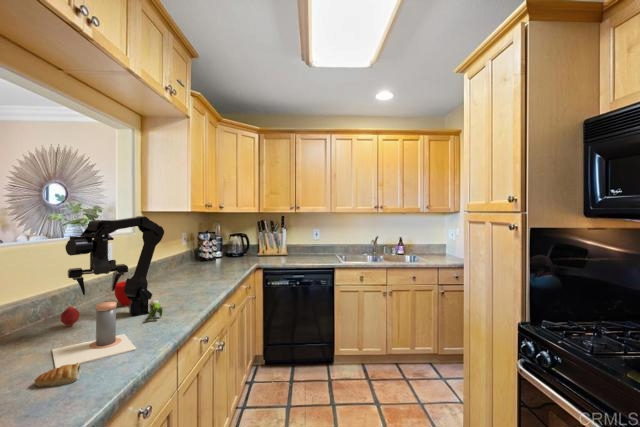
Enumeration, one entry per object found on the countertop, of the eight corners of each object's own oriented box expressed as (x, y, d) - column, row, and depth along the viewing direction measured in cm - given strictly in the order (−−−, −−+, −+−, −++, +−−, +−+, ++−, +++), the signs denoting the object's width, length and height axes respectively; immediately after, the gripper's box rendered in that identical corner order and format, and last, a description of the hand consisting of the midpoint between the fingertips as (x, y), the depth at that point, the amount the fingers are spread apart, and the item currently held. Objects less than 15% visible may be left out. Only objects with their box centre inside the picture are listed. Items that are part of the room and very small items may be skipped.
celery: (162, 307, 156) (165, 320, 130) (146, 311, 153) (146, 325, 127) (160, 294, 157) (163, 305, 130) (144, 298, 153) (144, 309, 127)
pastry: (31, 392, 78) (31, 376, 79) (39, 380, 84) (39, 365, 84) (78, 382, 83) (78, 368, 83) (82, 371, 89) (82, 357, 89)
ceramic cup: (134, 297, 166) (134, 278, 166) (150, 303, 156) (150, 282, 156) (105, 303, 155) (105, 282, 155) (121, 309, 145) (121, 287, 145)
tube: (109, 338, 111) (109, 300, 111) (120, 341, 108) (120, 302, 108) (91, 344, 105) (91, 304, 105) (102, 347, 103) (102, 307, 103)
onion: (69, 329, 120) (69, 308, 120) (56, 328, 121) (56, 307, 121) (83, 324, 126) (83, 303, 126) (71, 323, 127) (71, 303, 127)
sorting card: (124, 334, 115) (124, 333, 115) (136, 349, 103) (136, 348, 103) (52, 350, 102) (52, 349, 102) (55, 370, 89) (55, 368, 89)
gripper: (70, 256, 111) (70, 301, 111) (131, 252, 124) (131, 293, 124) (67, 253, 119) (67, 295, 119) (125, 250, 132) (124, 288, 132)
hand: (98, 293), depth 123 cm, fingers open, 9 cm apart
